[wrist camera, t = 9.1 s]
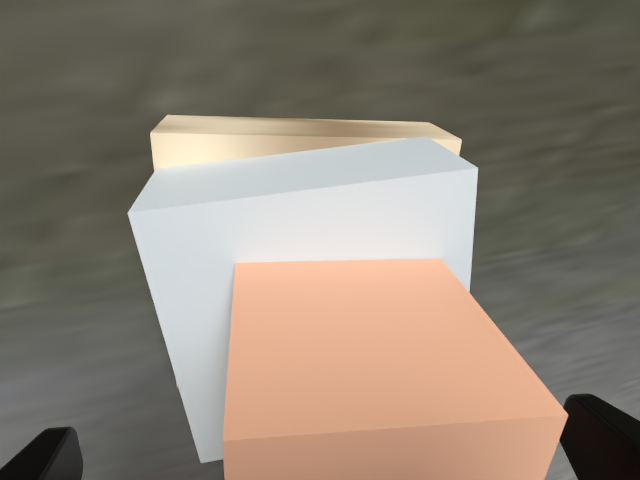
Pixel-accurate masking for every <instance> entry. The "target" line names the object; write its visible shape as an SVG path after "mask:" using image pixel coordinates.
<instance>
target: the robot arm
mask: <svg viewBox="0 0 640 480" xmlns="http://www.w3.org/2000/svg"><path fill="white" fill-rule="evenodd" d="M563 409H564V410H565V411H566V412H567V414H568V418H567V420H566V423H565V426H564V428H563V431H562V434H561V436H560V439H559V441H560V443H561V445H562V447H563V449H564V451H565V453H566V455H567V457H568V459H569V462H570V464H571V466H572V468H573V470H574V472H575V474H576V476H577V478H578V480H640V421H639V420H637V419H635V418H633V417H632V416H630V415H628V414H626V413H625V412H623V411H621V410H619V409H617V408H616V407H614V406H612V405H610V404H609V403H607V402H605V401H603V400H602V399H600V398H598V397H596V396H594V395H592V394H573V395H570V396H569V397H568V398H567V399H566V401H565V404H564V406H563ZM82 473H83V459H82V455H81V450H80V446H79V442H78V437H77V433H76V431H75V429H74V428H73V427H57V428H48V429H46V430H44V431H43V432H41V433H40V434H39V435H38V436H37V437H36V438H35V439H34V440H32V441H31V442H30V443H29V444H28V445H27V446H26V447H25V448H23V449H22V450H21V451H20V452H19V453H18V454H17V455H16V456H15V457H13V458H12V459H11V460H10V461H9V462H8V463H7V464H6V465H5V466H3V467H2V468H1V469H0V480H81V478H82Z"/></svg>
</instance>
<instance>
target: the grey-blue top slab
mask: <svg viewBox="0 0 640 480" xmlns="http://www.w3.org/2000/svg"><path fill="white" fill-rule="evenodd" d="M477 177H478V168H477V167H476V166H474V165H473V164H471V163H469V162H468V161H466V160H464V159H463V158H461V157H459V156H458V155H456V154H455V153H453V152H451V151H450V150H448V149H446V148H445V147H443V146H441V145H440V144H438V143H437V142H435V141H433V140H432V139H430V138H428V137H427V136H425V137H417V138H409V139H401V140H392V141H384V142H376V143H367V144H359V145H351V146H342V147H334V148H326V149H317V150H309V151H301V152H293V153H284V154H276V155H268V156H259V157H251V158H243V159H234V160H226V161H218V162H209V163H201V164H193V165H184V166H176V167H168V168H160V169H156V170H155V172H154V173H153V175H152V176H151V178H150V180H149V181H148V183H147V184H146V186H145V187H144V189H143V190H142V192H141V193H140V195H139V196H138V198H137V199H136V201H135V202H134V204H133V205H132V207H131V208H130V210H129V212H128V216H129V219H130V223H131V226H132V230H133V233H134V236H135V240H136V243H137V247H138V250H139V254H140V257H141V260H142V264H143V267H144V271H145V274H146V278H147V281H148V284H149V288H150V291H151V295H152V298H153V302H154V305H155V308H156V312H157V315H158V319H159V322H160V325H161V329H162V332H163V336H164V339H165V343H166V346H167V349H168V353H169V356H170V360H171V363H172V367H173V370H174V373H175V377H176V380H177V384H178V387H179V391H180V394H181V397H182V401H183V404H184V408H185V411H186V415H187V418H188V421H189V425H190V428H191V432H192V435H193V438H194V442H195V445H196V449H197V452H198V456H199V459H200V462H201V463H205V462H211V461H216V460H222V459H223V445H222V437H223V424H224V410H225V396H226V382H227V368H228V354H229V340H230V326H231V313H232V299H233V285H234V271H235V263H241V262H289V261H339V260H390V259H442V260H443V261H444V262H445V264H446V265H447V266H448V267H449V269H450V270H451V271H452V272H453V273H454V275H455V276H456V277H457V278H458V280H459V281H460V282H461V283H462V285H463V286H464V287H465V288H466V289H467V291H468V292H469V291H470V277H471V262H472V248H473V234H474V220H475V205H476V191H477Z"/></svg>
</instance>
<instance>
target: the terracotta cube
mask: <svg viewBox="0 0 640 480" xmlns="http://www.w3.org/2000/svg"><path fill="white" fill-rule="evenodd" d="M567 418H568V414H567V412H566V411H565V410H564V409H563V408H562V406H561V405H560V404H559V403H558V401H557V400H556V399H555V398H554V396H553V395H552V394H551V393H550V392H549V390H548V389H547V388H546V387H545V385H544V384H543V383H542V382H541V380H540V379H539V378H538V377H537V376H536V374H535V373H534V372H533V371H532V369H531V368H530V367H529V366H528V365H527V363H526V362H525V361H524V360H523V358H522V357H521V356H520V355H519V353H518V352H517V351H516V350H515V349H514V347H513V346H512V345H511V344H510V342H509V341H508V340H507V339H506V337H505V336H504V335H503V334H502V333H501V331H500V330H499V329H498V328H497V326H496V325H495V324H494V323H493V321H492V320H491V319H490V318H489V317H488V315H487V314H486V313H485V312H484V310H483V309H482V308H481V307H480V305H479V304H478V303H477V302H476V301H475V299H474V298H473V297H472V296H471V294H470V293H469V292H468V291H467V289H466V288H465V287H464V286H463V285H462V283H461V282H460V281H459V280H458V278H457V277H456V276H455V275H454V273H453V272H452V271H451V270H450V269H449V267H448V266H447V265H446V264H445V262H444V261H443V260H442V259H390V260H339V261H289V262H241V263H235V271H234V285H233V299H232V313H231V326H230V340H229V354H228V368H227V382H226V396H225V410H224V424H223V437H222V445H223V462H224V479H225V480H544V478H545V476H546V473H547V471H548V468H549V465H550V463H551V460H552V457H553V455H554V452H555V449H556V447H557V444H558V441H559V439H560V436H561V434H562V431H563V428H564V426H565V423H566V420H567Z"/></svg>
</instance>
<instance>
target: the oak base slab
mask: <svg viewBox="0 0 640 480" xmlns="http://www.w3.org/2000/svg"><path fill="white" fill-rule="evenodd" d="M150 136H151V145H152V155H153V164H154V172H155V170H156V169H160V168H168V167H176V166H184V165H193V164H201V163H209V162H218V161H226V160H234V159H243V158H251V157H259V156H268V155H276V154H284V153H293V152H301V151H309V150H317V149H326V148H334V147H342V146H351V145H359V144H367V143H376V142H384V141H392V140H401V139H409V138H417V137H425V136H427V137H428V138H430V139H432V140H433V141H435V142H437V143H438V144H440V145H441V146H443V147H445V148H446V149H448V150H450V151H451V152H453V153H455V154H456V155H458V156H459V153H460V147H461V142H462V140H461V139H460V138H458V137H456V136H454V135H452V134H450V133H448V132H446V131H444V130H442V129H441V128H439V127H437V126H435V125H433V124H431V123H429V122H400V121H363V120H327V119H290V118H254V117H217V116H181V115H167V116H166V117H165V118H164V119H163V120H162V121H161V122H160V123H159V124H158V125H157V126H156V127H155V128H154V129H153V130H152V132H151V133H150ZM176 383H177V380H176ZM177 388H179V387H178V384H177Z"/></svg>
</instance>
